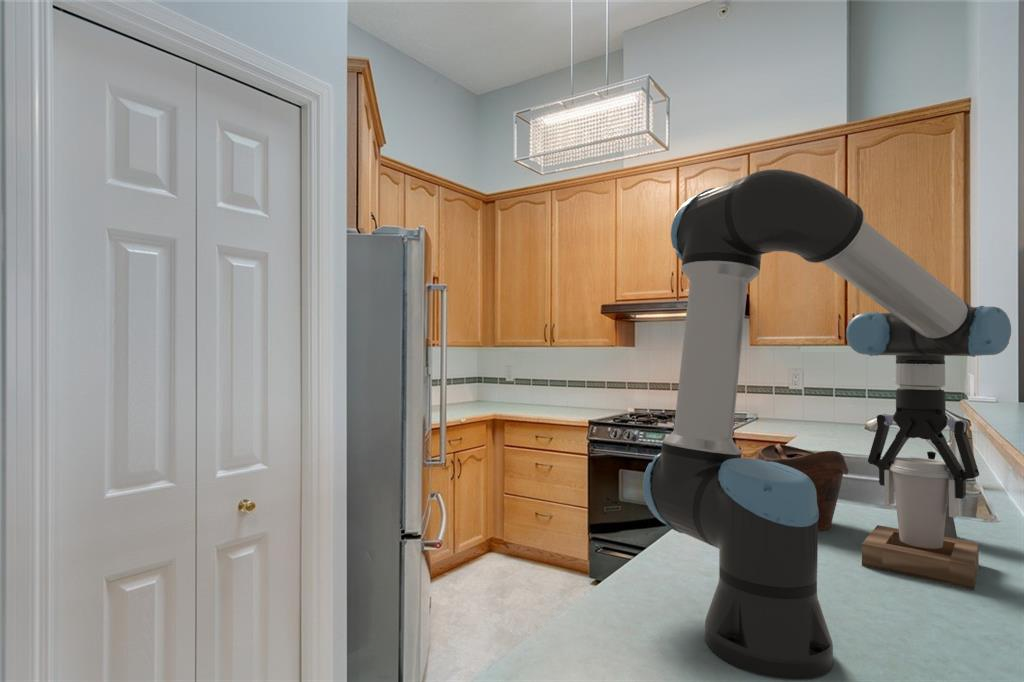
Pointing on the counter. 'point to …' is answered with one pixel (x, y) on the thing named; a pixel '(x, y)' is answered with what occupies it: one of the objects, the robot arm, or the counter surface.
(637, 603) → the counter surface
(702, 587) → the counter surface
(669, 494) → the robot arm
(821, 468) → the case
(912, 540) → the coffee cup
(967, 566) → the holder
